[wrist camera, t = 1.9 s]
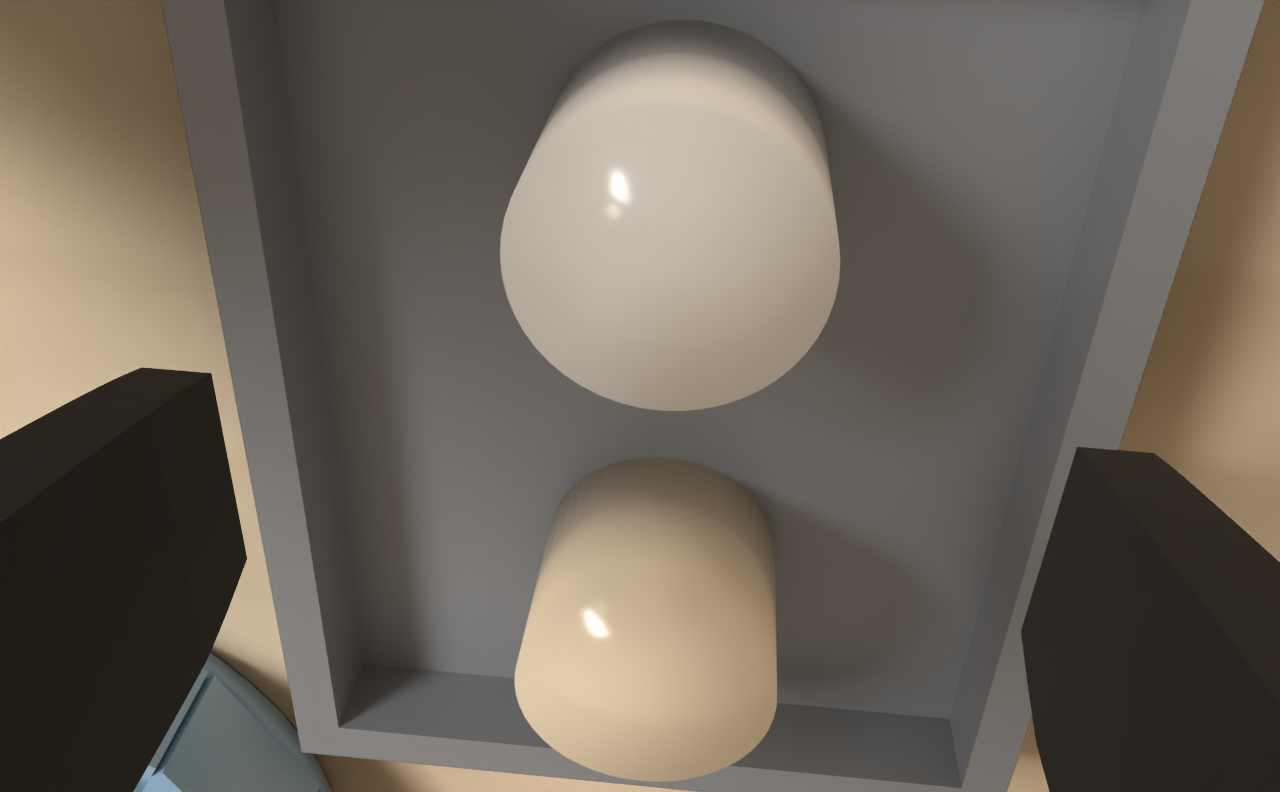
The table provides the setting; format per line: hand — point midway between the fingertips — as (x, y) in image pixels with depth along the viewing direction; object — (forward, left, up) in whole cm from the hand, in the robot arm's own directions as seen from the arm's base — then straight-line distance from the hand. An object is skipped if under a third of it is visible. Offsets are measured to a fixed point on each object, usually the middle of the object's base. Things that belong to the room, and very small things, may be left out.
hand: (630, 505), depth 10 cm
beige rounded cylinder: (+7, 0, -8) cm, 11 cm away
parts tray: (+4, 0, -8) cm, 9 cm away
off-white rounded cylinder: (0, 0, -8) cm, 8 cm away
